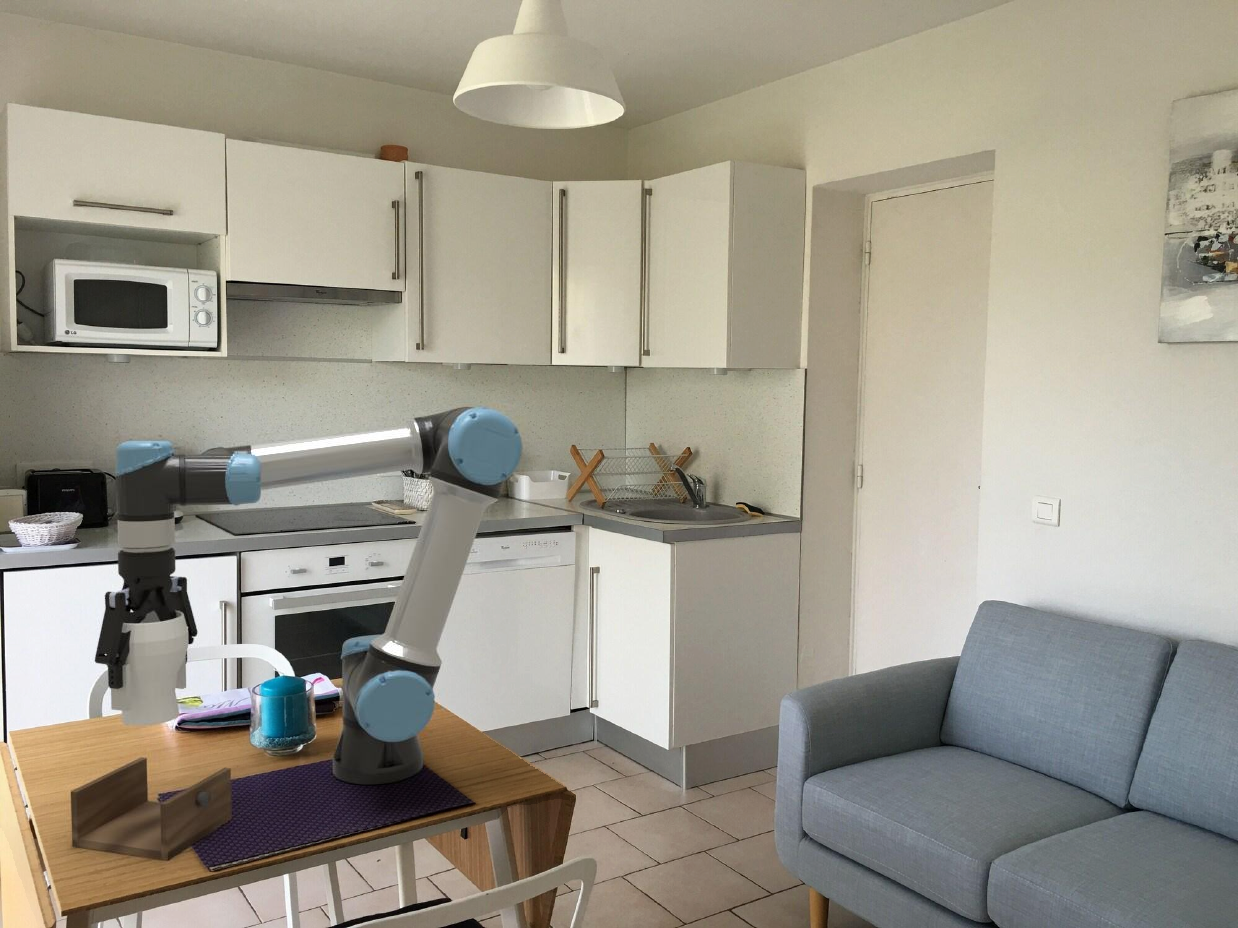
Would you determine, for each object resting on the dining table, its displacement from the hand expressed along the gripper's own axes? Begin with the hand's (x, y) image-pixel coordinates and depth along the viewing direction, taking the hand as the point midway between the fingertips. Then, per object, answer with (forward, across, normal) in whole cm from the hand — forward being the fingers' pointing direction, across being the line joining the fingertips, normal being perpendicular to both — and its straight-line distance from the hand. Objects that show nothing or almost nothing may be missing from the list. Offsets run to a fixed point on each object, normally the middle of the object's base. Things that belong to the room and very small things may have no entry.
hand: (150, 698), depth 149 cm
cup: (+3, 0, 0) cm, 3 cm away
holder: (+20, 0, 0) cm, 20 cm away
